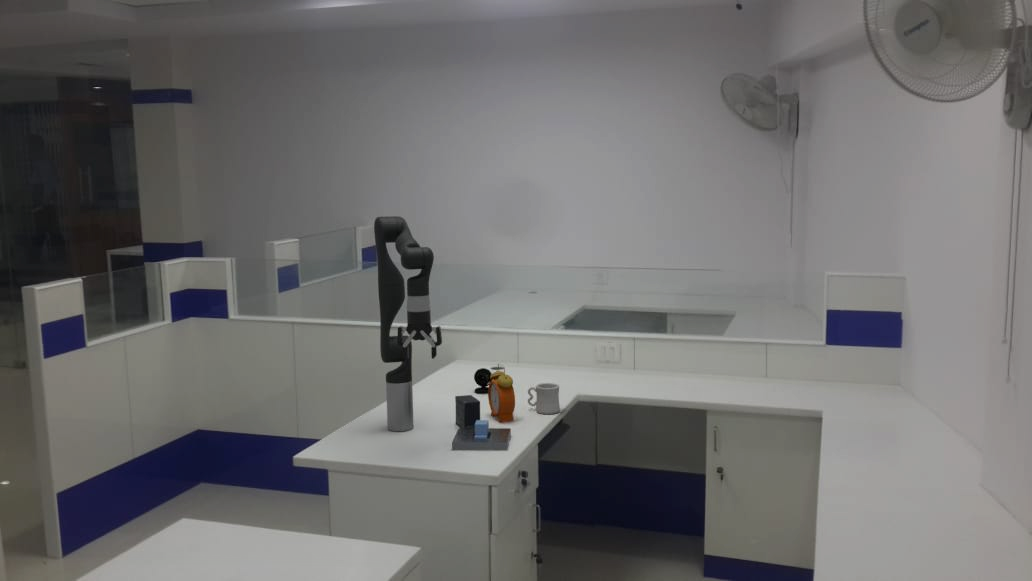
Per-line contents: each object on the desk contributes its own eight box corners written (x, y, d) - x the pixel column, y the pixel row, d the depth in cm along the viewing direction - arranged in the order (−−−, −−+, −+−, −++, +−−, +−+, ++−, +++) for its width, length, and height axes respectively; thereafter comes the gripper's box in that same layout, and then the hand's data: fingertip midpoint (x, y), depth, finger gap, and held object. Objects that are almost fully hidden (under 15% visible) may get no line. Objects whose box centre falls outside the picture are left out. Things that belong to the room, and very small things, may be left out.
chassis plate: (458, 435, 298) (458, 428, 297) (510, 435, 296) (510, 428, 296) (452, 449, 282) (451, 442, 282) (506, 450, 281) (506, 442, 280)
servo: (477, 438, 294) (477, 418, 293) (489, 438, 293) (489, 418, 292) (474, 446, 285) (474, 426, 284) (486, 446, 284) (486, 426, 283)
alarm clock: (487, 414, 323) (486, 362, 320) (503, 413, 325) (502, 360, 322) (500, 424, 310) (499, 369, 308) (516, 422, 312) (515, 368, 310)
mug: (562, 409, 329) (561, 383, 328) (556, 415, 320) (556, 389, 319) (530, 407, 332) (530, 381, 331) (524, 413, 324) (524, 387, 322)
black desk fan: (472, 393, 354) (471, 370, 353) (477, 389, 361) (476, 366, 360) (490, 394, 352) (489, 370, 351) (495, 390, 360) (494, 366, 358)
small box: (481, 429, 304) (481, 400, 302) (464, 432, 301) (463, 402, 300) (472, 422, 313) (471, 394, 312) (455, 424, 311) (454, 395, 310)
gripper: (442, 307, 282) (443, 355, 284) (399, 307, 283) (400, 355, 285) (438, 310, 274) (440, 360, 276) (394, 310, 275) (396, 360, 277)
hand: (420, 358), depth 281 cm, fingers open, 8 cm apart
